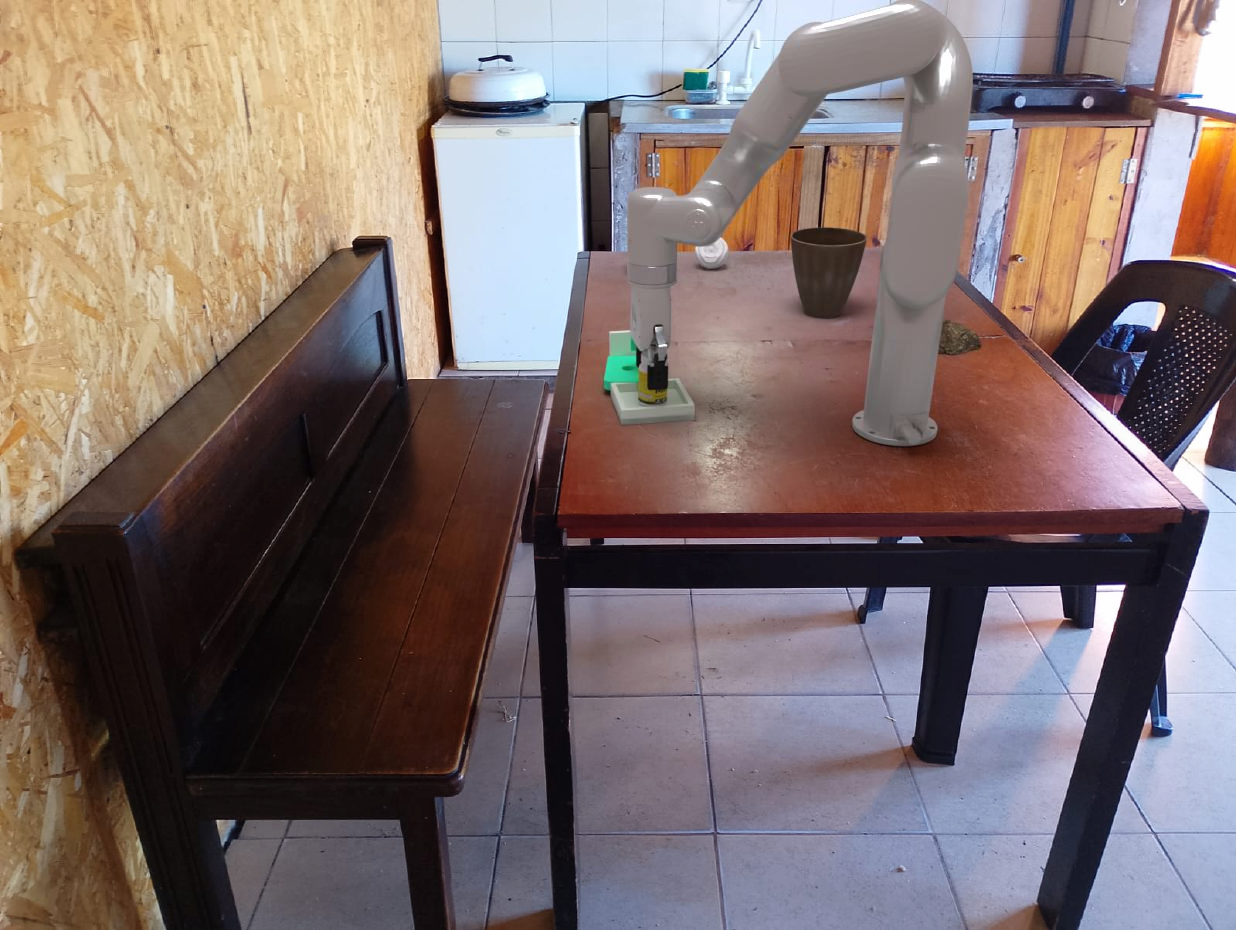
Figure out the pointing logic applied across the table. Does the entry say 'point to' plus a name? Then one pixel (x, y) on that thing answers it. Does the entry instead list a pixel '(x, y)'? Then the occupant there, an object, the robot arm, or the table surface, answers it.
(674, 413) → the tray
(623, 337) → the rear label tag
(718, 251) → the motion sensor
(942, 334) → the rock
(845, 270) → the plant pot
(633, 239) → the robot arm
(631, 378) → the camera mount
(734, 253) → the table surface
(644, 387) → the supplement bottle
